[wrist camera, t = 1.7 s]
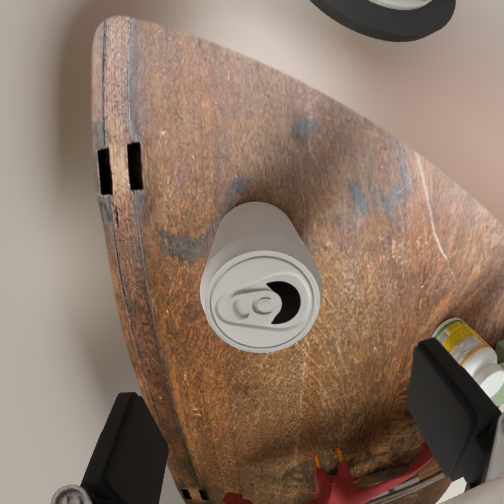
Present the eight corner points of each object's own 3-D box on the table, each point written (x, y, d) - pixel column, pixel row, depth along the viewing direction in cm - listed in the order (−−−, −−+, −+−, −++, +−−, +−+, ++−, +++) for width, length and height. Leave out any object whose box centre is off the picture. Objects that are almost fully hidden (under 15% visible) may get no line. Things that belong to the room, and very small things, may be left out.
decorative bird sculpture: (411, 411, 40) (449, 420, 27) (423, 461, 37) (461, 486, 23) (233, 460, 42) (203, 487, 29) (247, 509, 38) (223, 549, 25)
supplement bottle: (427, 327, 30) (472, 380, 21) (465, 309, 30) (514, 354, 21) (428, 362, 32) (466, 416, 23) (464, 344, 32) (506, 391, 23)
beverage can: (296, 268, 28) (330, 350, 16) (222, 278, 28) (210, 365, 17) (289, 195, 26) (325, 234, 14) (210, 205, 26) (184, 253, 15)
